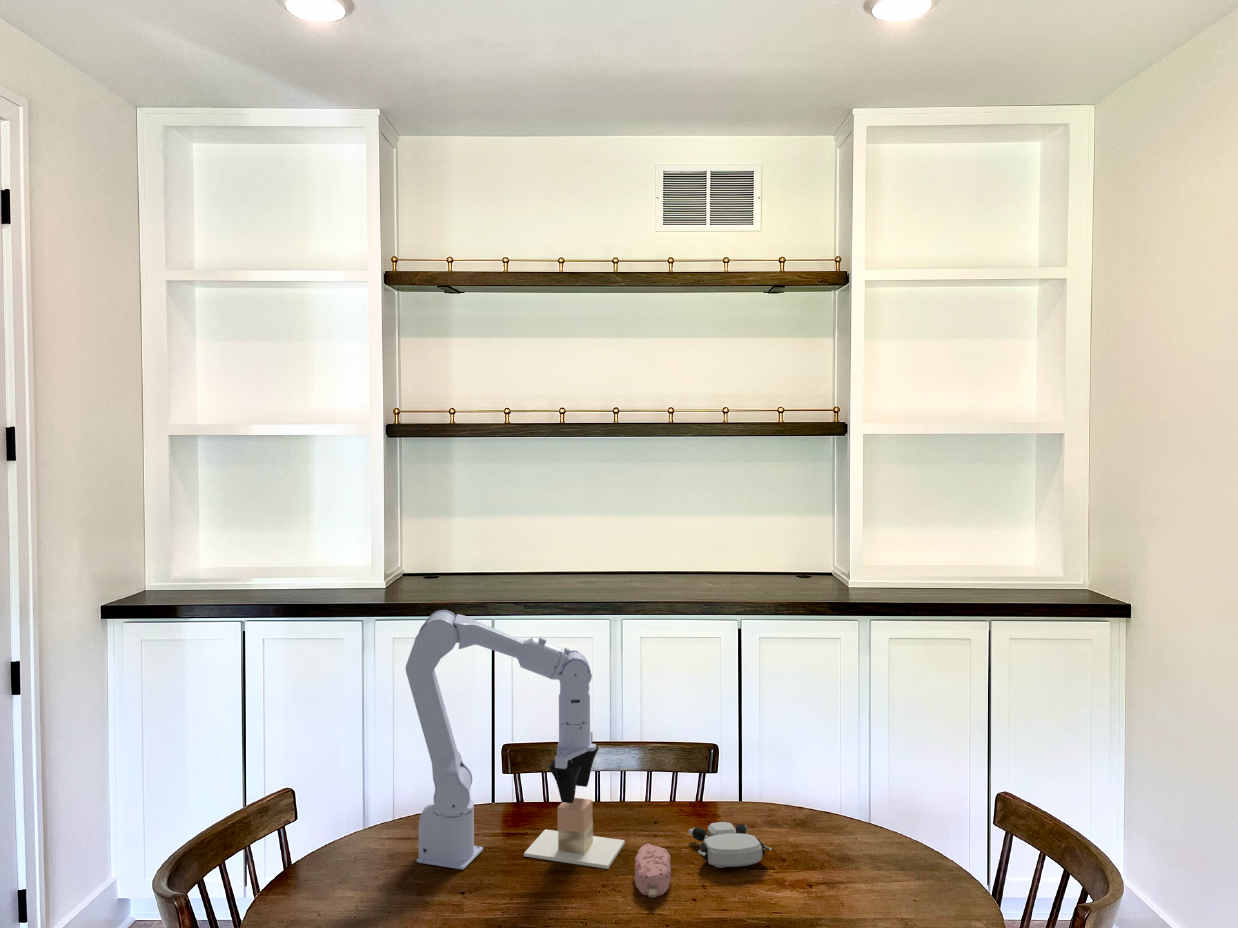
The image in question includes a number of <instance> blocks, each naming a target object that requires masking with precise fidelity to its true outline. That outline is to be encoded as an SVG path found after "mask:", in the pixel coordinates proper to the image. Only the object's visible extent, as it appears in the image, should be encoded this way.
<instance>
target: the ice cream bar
mask: <svg viewBox="0 0 1238 928" xmlns="http://www.w3.org/2000/svg"><path fill="white" fill-rule="evenodd" d="M634 861H635V862H634V875H633V877H634V878H633V880H634V882H635V883H634V884H635V888H637V889H638V891H639V893H641V894H642V895H644V896H648V898H657V897H661V896H662V895H664V894H665V893H666V892H667V891H668V890H669V888H670V882H671V879H672V878H671V876H672V867H671V865H672V864H671V854H669V852H668V850H667V848H665V847H661V846H657V845H654V844H652V843H645V844H644V845H642V846H641V847H640V848H639V849H638V851H637V854H636V855H635V857H634Z"/></svg>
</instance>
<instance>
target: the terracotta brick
mask: <svg viewBox="0 0 1238 928" xmlns="http://www.w3.org/2000/svg"><path fill="white" fill-rule="evenodd" d="M593 810H594V808H593V799H589V798H581V797H575V798H574V801H573V803H565V802H562V801H561V803H560V804H559V805H558V806H557V830H558V829H559V830H566V831H573V832H581V833H584V832H585V830H586V829H587V828H588V827H589V825H590V824H591V823H592V821H593V822H594V819H593Z"/></svg>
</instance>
